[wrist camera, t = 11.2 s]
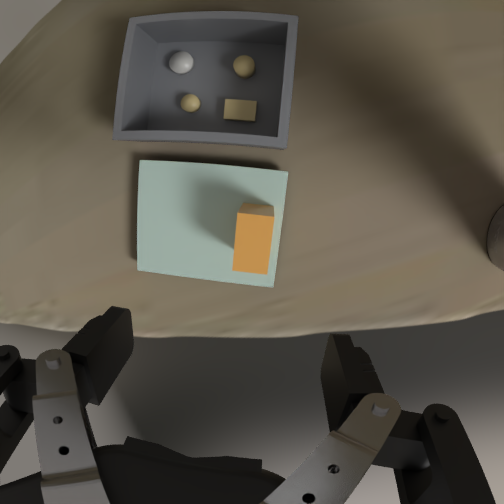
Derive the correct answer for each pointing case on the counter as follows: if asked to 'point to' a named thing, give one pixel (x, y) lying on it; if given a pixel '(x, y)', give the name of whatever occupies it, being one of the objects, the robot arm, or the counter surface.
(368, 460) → the robot arm
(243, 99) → the tub
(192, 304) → the counter surface
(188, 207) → the lid
